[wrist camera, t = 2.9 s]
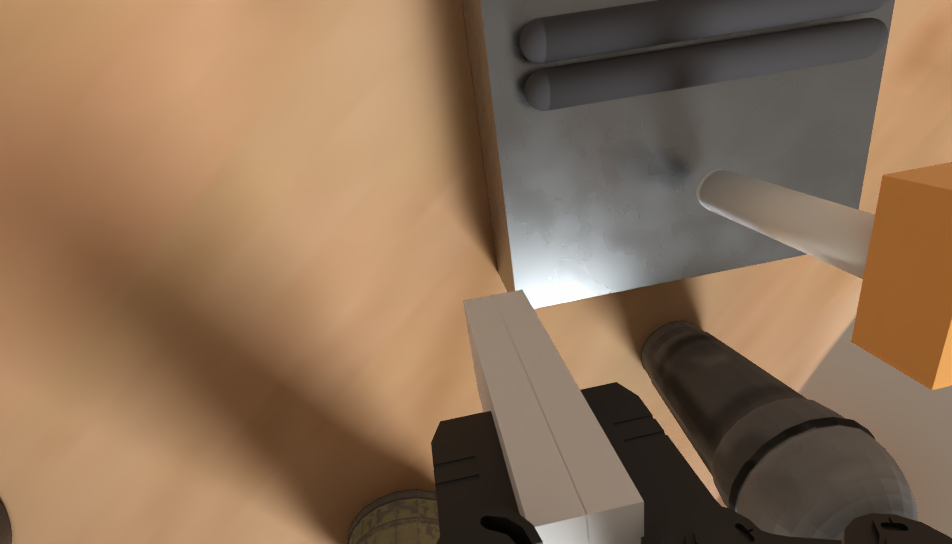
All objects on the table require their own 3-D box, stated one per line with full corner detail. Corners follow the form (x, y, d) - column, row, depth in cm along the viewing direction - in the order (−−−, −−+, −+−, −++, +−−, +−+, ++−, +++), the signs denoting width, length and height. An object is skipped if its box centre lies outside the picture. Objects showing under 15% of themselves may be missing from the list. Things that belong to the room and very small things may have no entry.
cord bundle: (522, 112, 21) (532, 115, 19) (513, 22, 19) (523, 19, 18) (861, 56, 22) (894, 56, 21) (874, -31, 21) (911, -39, 19)
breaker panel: (498, 273, 29) (517, 311, 24) (433, -215, 20) (444, -298, 16) (783, 218, 30) (852, 245, 26) (837, -257, 22) (954, -344, 17)
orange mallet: (684, 242, 23) (931, 389, 12) (687, 132, 21) (985, 197, 10) (724, 234, 23) (1002, 373, 13) (731, 125, 21) (1069, 181, 11)
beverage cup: (658, 286, 31) (1041, 601, 13) (744, 322, 33) (1179, 637, 15) (601, 379, 33) (859, 765, 15) (686, 408, 35) (1003, 777, 17)
